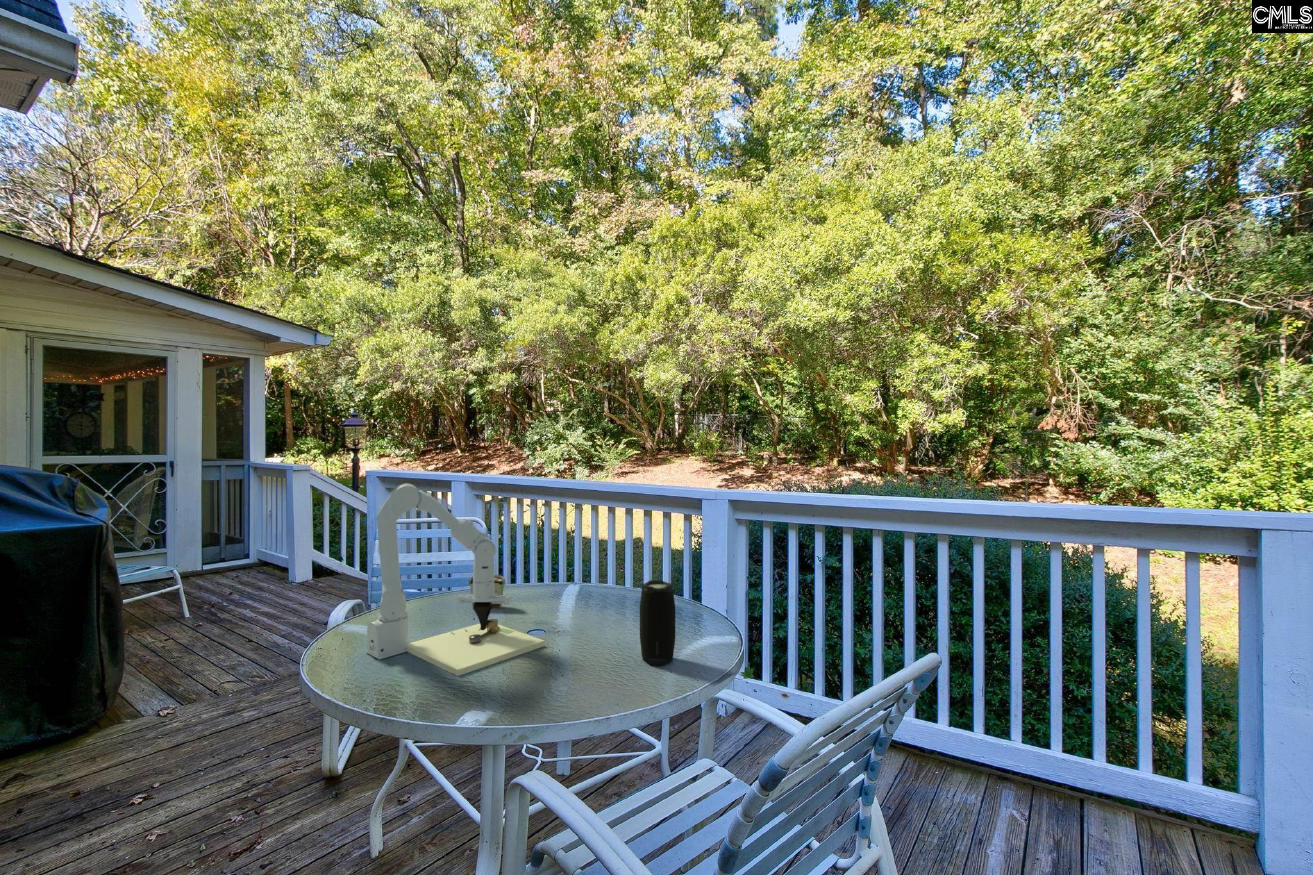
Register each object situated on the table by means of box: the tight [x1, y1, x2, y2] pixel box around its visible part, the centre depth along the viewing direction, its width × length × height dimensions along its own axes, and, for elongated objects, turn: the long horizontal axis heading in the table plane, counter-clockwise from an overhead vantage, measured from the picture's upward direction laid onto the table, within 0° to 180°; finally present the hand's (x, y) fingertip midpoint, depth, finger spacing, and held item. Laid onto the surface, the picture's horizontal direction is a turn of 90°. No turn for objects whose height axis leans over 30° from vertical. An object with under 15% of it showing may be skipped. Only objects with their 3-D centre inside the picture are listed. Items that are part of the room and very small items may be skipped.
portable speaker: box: [639, 579, 676, 667], centre depth 150 cm, size 9×9×20 cm
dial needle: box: [469, 618, 500, 643], centre depth 163 cm, size 12×3×3 cm, turn 161°
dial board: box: [406, 623, 545, 677], centre depth 159 cm, size 26×26×2 cm
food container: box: [468, 574, 507, 610], centre depth 197 cm, size 12×6×10 cm, turn 84°
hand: (483, 629), depth 166 cm, fingers closed
